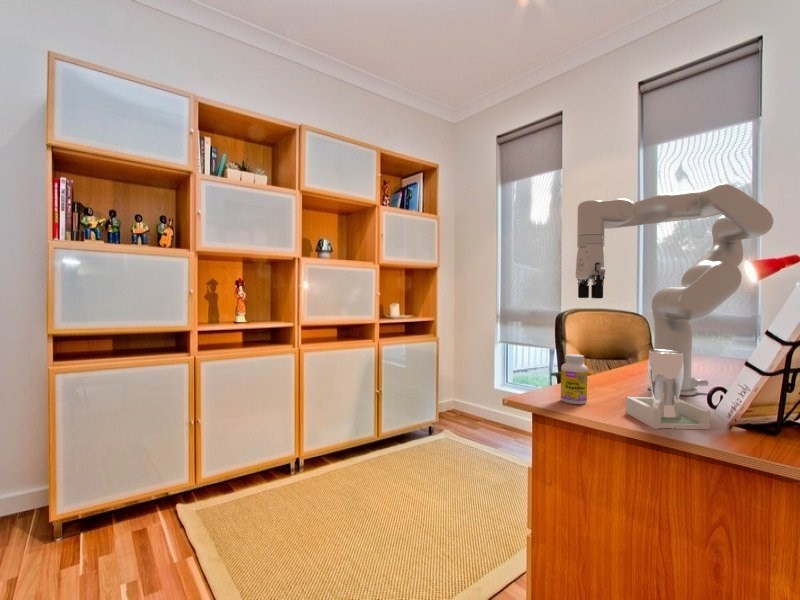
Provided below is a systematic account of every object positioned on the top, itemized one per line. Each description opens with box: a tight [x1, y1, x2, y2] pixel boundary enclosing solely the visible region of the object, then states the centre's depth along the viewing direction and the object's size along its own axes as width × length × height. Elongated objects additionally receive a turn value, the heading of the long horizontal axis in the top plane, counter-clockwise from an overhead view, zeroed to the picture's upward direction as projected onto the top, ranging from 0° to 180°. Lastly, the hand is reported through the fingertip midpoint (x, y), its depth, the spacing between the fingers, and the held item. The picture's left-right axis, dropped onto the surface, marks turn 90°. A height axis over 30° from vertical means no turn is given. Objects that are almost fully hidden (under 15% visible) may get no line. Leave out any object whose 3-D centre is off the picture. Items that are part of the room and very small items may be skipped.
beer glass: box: [647, 349, 684, 419], centre depth 97 cm, size 7×7×15 cm
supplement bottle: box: [560, 353, 588, 405], centre depth 113 cm, size 7×7×13 cm
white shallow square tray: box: [625, 396, 711, 430], centre depth 97 cm, size 12×12×4 cm
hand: (590, 298), depth 126 cm, fingers open, 9 cm apart
